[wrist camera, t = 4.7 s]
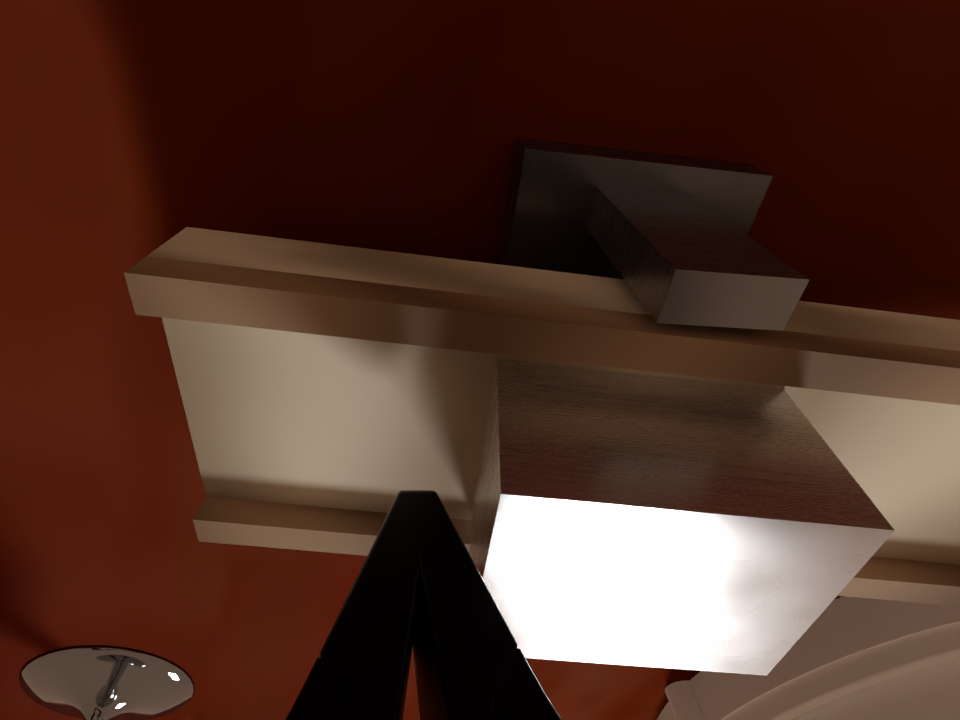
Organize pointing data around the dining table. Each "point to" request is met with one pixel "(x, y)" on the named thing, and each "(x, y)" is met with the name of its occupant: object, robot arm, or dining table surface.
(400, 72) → the dining table surface
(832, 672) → the dome cover
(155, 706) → the wine glass
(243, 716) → the dining table surface
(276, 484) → the beam
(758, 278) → the pivot stand
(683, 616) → the steel block
